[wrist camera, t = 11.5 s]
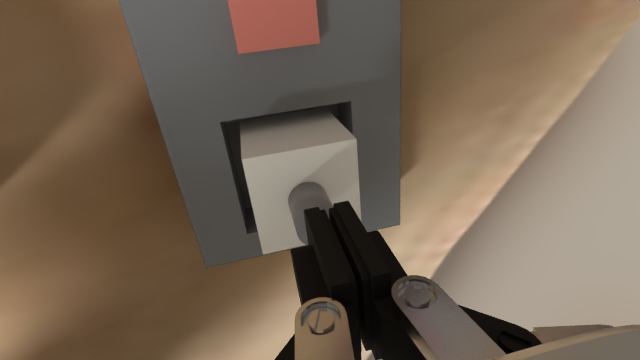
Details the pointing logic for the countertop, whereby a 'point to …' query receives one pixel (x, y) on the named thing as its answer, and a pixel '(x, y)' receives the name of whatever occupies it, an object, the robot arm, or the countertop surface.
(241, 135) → the plug
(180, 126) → the socket plate
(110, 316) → the countertop surface
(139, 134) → the countertop surface
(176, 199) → the countertop surface
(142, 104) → the countertop surface
